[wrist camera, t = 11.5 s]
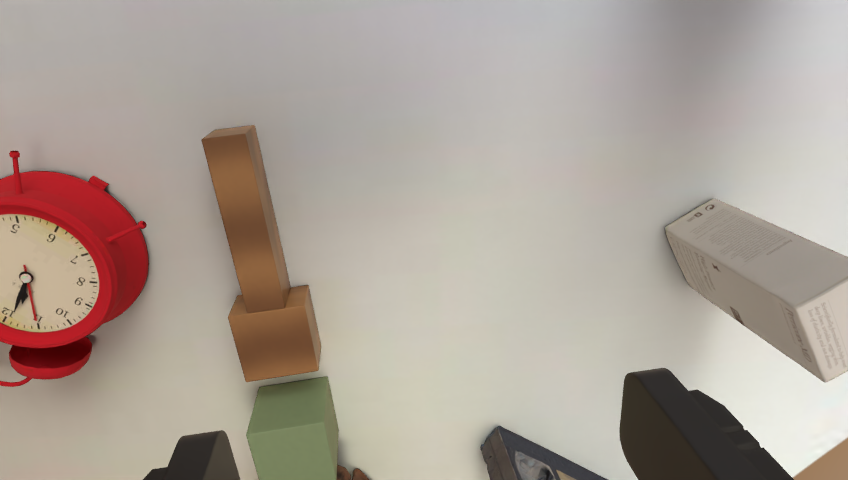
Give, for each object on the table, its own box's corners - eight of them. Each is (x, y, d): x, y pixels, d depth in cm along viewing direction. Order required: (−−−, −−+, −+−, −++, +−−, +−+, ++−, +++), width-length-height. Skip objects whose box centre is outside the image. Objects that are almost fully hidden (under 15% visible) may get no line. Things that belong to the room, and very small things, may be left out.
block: (258, 387, 39) (245, 435, 34) (327, 376, 39) (324, 422, 34) (273, 440, 40) (262, 493, 36) (338, 429, 41) (336, 480, 36)
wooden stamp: (194, 132, 32) (178, 141, 29) (274, 122, 32) (267, 130, 29) (253, 357, 38) (245, 382, 35) (321, 346, 38) (318, 371, 35)
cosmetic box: (660, 228, 38) (788, 309, 27) (716, 193, 37) (870, 261, 26) (690, 291, 40) (821, 390, 29) (743, 258, 40) (897, 347, 28)
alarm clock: (170, 235, 30) (28, 456, 30) (189, 219, 36) (70, 404, 36) (-25, 128, 27) (-182, 376, 27) (31, 131, 33) (-97, 334, 33)
